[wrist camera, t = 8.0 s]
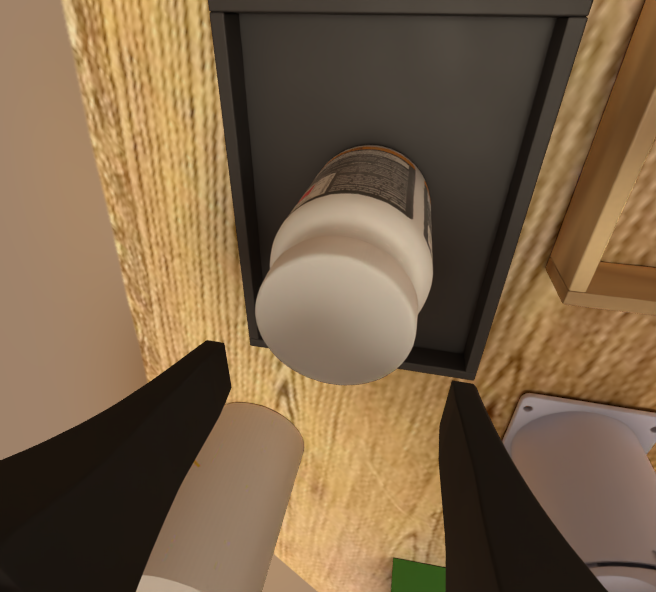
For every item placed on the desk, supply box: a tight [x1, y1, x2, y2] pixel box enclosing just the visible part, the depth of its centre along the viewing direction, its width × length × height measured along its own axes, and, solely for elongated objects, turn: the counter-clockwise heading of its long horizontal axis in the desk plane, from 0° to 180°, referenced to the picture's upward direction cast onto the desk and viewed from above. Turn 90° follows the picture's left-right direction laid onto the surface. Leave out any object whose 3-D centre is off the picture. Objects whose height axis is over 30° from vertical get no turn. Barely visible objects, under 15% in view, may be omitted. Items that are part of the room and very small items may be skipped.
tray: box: [208, 0, 593, 380], centre depth 19 cm, size 17×13×2 cm
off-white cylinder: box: [136, 403, 304, 592], centre depth 28 cm, size 8×8×12 cm
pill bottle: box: [255, 145, 433, 385], centre depth 15 cm, size 6×6×10 cm
